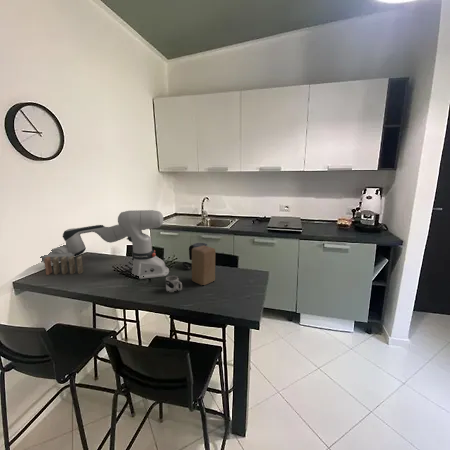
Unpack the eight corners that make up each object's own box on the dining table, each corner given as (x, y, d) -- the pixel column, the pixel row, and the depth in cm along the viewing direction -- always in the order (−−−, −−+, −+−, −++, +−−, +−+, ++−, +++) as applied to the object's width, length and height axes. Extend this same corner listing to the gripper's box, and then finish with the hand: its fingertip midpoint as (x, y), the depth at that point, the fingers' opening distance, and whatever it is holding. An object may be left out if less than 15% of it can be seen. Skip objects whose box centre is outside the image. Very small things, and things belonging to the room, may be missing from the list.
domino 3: (67, 271, 172) (66, 256, 170) (65, 274, 168) (63, 258, 166) (65, 271, 172) (63, 256, 169) (62, 274, 168) (60, 258, 166)
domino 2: (60, 271, 171) (58, 256, 169) (57, 274, 167) (55, 258, 165) (57, 272, 171) (55, 256, 169) (54, 274, 167) (52, 258, 165)
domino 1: (52, 272, 171) (50, 256, 169) (49, 274, 167) (47, 258, 165) (49, 272, 170) (47, 256, 168) (46, 274, 167) (44, 258, 164)
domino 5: (83, 271, 173) (81, 255, 171) (80, 273, 169) (79, 258, 167) (80, 271, 173) (78, 255, 171) (78, 273, 169) (76, 258, 167)
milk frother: (209, 264, 189) (209, 243, 185) (199, 272, 174) (199, 250, 171) (190, 261, 193) (190, 241, 190) (179, 269, 178) (179, 247, 175)
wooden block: (215, 281, 162) (216, 248, 158) (202, 286, 155) (203, 252, 150) (203, 276, 168) (204, 244, 164) (191, 281, 161) (190, 248, 157)
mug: (163, 290, 150) (163, 278, 148) (171, 285, 155) (171, 274, 154) (177, 295, 144) (177, 283, 143) (185, 290, 150) (185, 278, 149)
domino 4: (75, 271, 172) (73, 256, 170) (73, 274, 169) (71, 258, 166) (72, 271, 172) (71, 256, 170) (70, 274, 168) (68, 258, 166)
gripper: (76, 258, 184) (67, 266, 171) (42, 259, 182) (31, 267, 168) (75, 249, 183) (66, 256, 170) (41, 250, 180) (30, 257, 167)
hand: (48, 261), depth 169 cm, fingers open, 3 cm apart
